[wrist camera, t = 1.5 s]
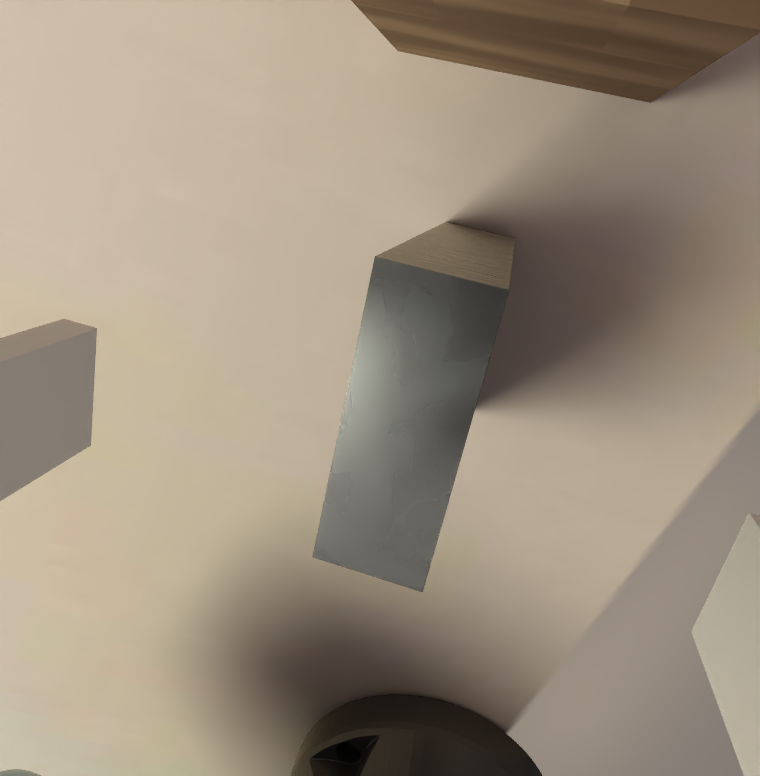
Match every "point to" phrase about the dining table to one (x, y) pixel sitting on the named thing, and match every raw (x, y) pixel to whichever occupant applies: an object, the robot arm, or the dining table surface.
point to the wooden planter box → (573, 37)
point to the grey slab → (412, 399)
